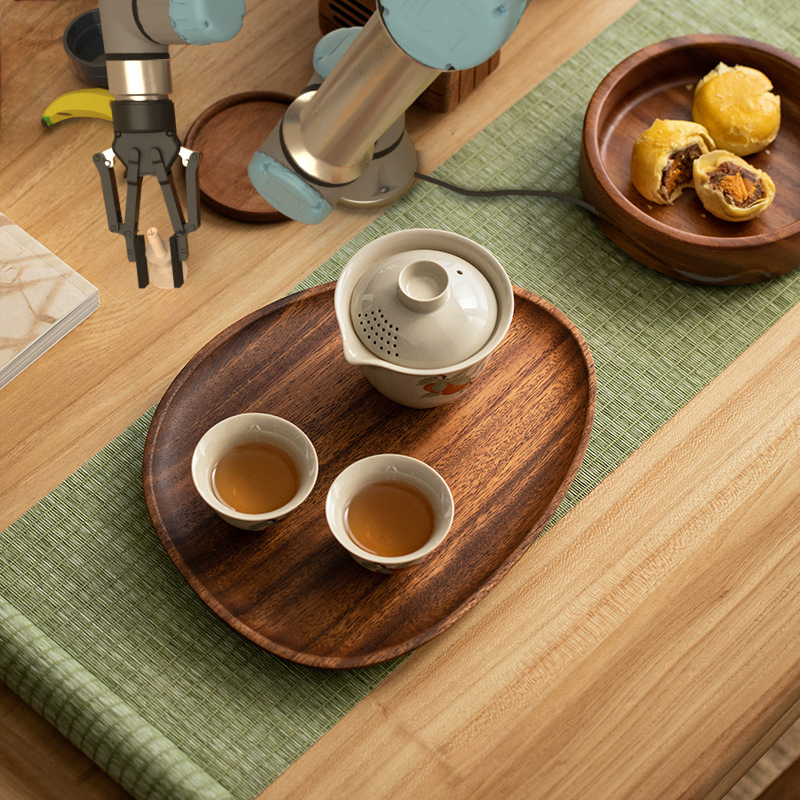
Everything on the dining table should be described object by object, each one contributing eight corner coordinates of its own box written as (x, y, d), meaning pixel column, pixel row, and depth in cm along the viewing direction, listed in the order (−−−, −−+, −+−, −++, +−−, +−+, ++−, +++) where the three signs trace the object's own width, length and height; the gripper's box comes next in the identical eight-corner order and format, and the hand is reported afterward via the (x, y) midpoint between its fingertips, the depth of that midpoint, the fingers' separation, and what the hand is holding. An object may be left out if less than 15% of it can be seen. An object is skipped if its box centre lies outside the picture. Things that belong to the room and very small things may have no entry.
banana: (39, 81, 138) (25, 170, 134) (151, 79, 137) (141, 169, 133) (52, 99, 143) (39, 186, 139) (161, 97, 141) (151, 185, 137)
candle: (145, 287, 124) (125, 243, 115) (155, 255, 126) (135, 209, 117) (183, 292, 124) (166, 248, 114) (192, 259, 126) (176, 214, 117)
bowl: (163, 42, 147) (156, 17, 143) (130, 98, 142) (121, 74, 138) (94, 24, 149) (85, -2, 144) (59, 78, 144) (48, 54, 139)
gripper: (216, 95, 116) (230, 278, 124) (81, 97, 116) (104, 280, 124) (206, 98, 109) (221, 291, 117) (62, 100, 109) (88, 293, 117)
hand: (161, 285), depth 121 cm, fingers closed on candle, 4 cm apart
